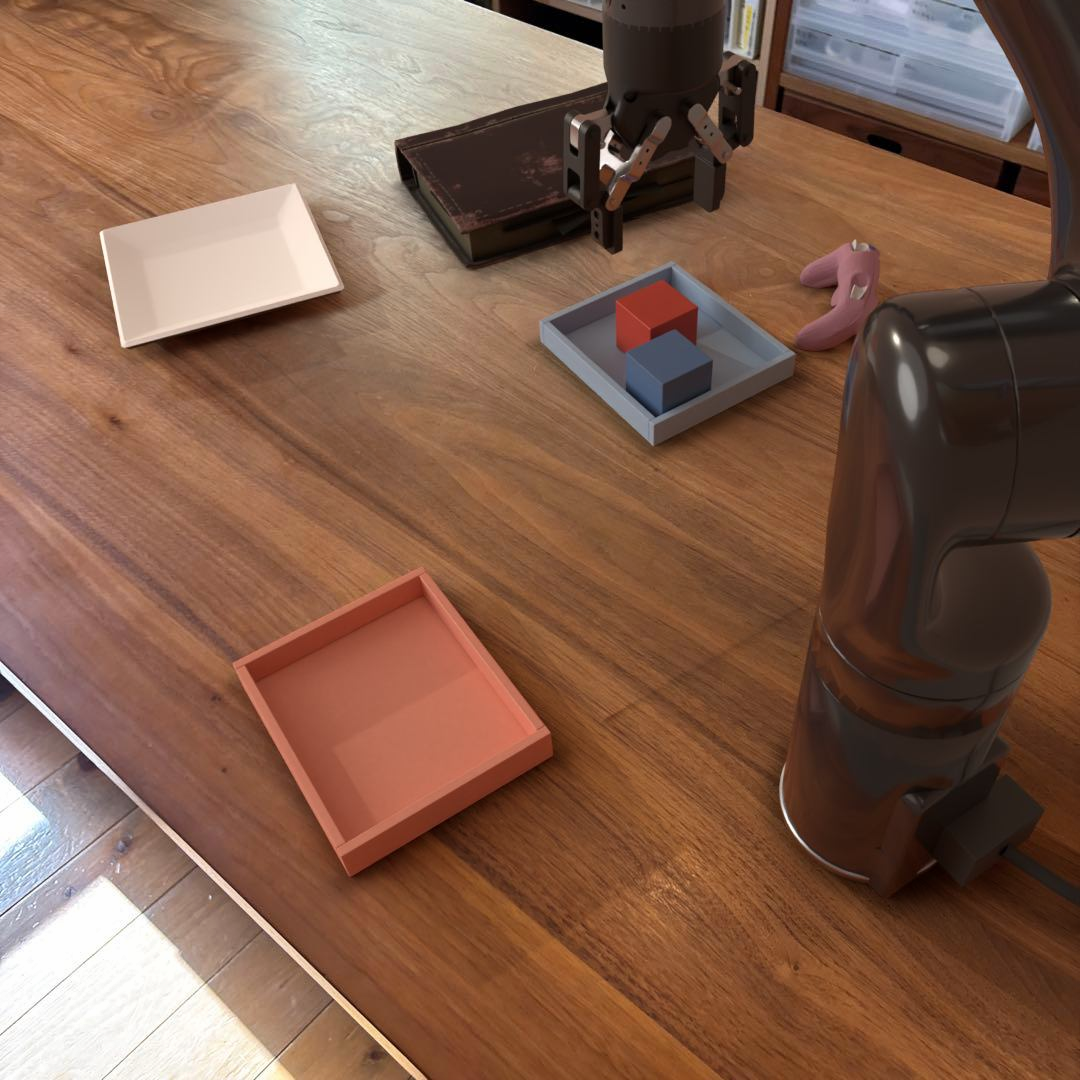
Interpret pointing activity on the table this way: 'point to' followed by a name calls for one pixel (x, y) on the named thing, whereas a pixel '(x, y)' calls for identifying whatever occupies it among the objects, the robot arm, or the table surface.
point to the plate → (216, 265)
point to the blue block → (667, 372)
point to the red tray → (391, 717)
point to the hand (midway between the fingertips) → (659, 227)
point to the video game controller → (841, 294)
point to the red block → (654, 316)
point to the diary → (521, 180)
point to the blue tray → (722, 334)
